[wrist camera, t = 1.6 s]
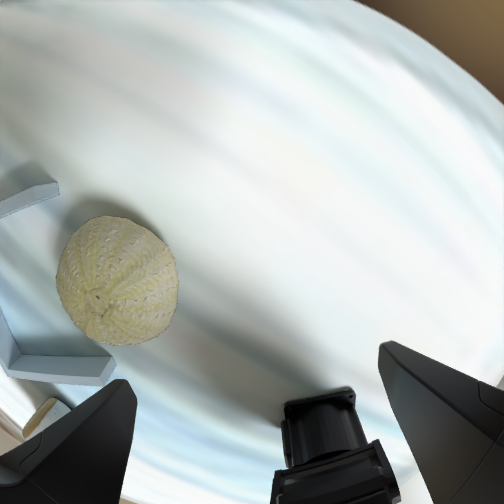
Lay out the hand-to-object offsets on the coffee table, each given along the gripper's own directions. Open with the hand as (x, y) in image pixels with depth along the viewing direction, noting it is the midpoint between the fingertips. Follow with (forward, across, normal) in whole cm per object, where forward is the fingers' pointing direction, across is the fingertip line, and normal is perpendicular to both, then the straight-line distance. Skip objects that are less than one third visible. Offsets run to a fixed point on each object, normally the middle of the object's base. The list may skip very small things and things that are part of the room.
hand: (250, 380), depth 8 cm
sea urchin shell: (+12, +9, 0) cm, 16 cm away
